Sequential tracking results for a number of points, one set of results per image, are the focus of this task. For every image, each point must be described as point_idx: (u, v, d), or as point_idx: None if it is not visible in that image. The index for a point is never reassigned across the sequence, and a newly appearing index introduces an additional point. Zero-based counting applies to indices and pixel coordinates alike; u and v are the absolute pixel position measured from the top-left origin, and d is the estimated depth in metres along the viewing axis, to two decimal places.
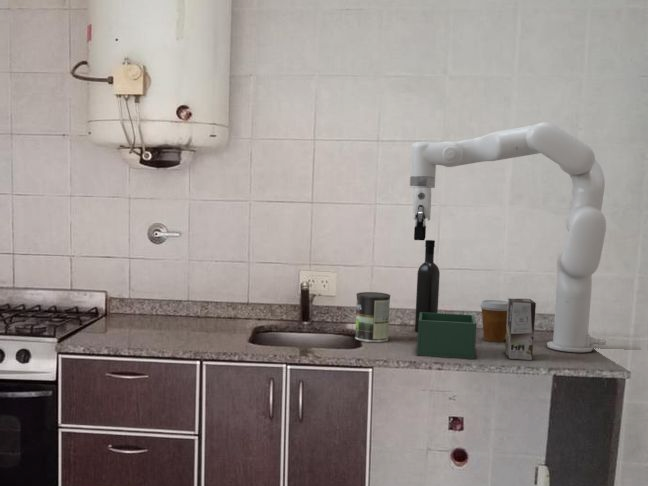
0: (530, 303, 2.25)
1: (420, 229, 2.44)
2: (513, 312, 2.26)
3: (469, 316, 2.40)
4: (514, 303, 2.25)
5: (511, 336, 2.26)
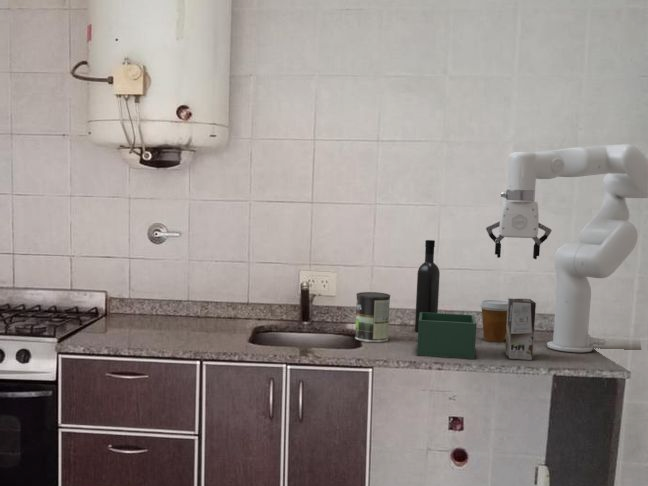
0: (530, 303, 2.25)
1: (495, 245, 2.30)
2: (513, 312, 2.26)
3: (469, 316, 2.40)
4: (514, 303, 2.25)
5: (511, 336, 2.26)
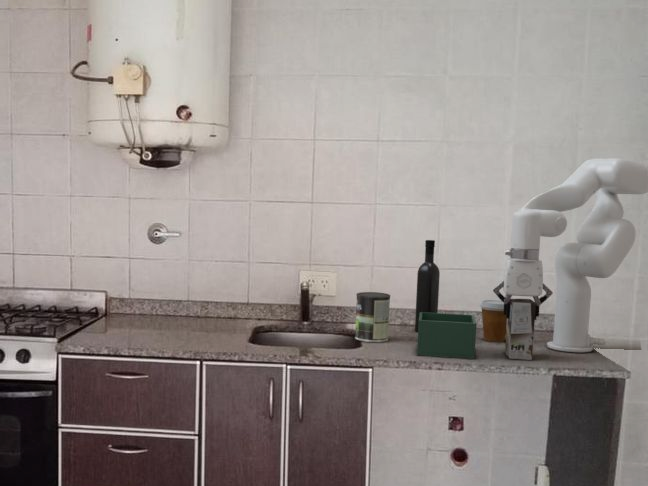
0: (530, 303, 2.25)
1: (504, 306, 2.30)
2: (513, 312, 2.26)
3: (469, 316, 2.40)
4: (514, 303, 2.25)
5: (511, 336, 2.26)
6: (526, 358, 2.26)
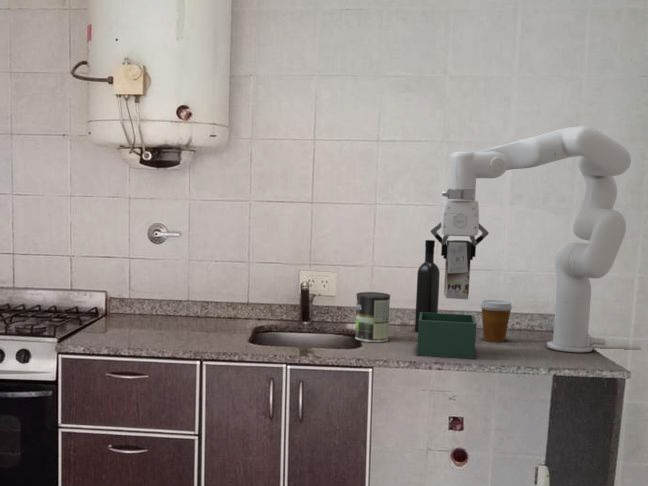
0: (466, 242, 2.27)
1: None
2: (449, 252, 2.28)
3: (469, 316, 2.40)
4: (450, 243, 2.28)
5: (448, 276, 2.29)
6: (462, 297, 2.28)
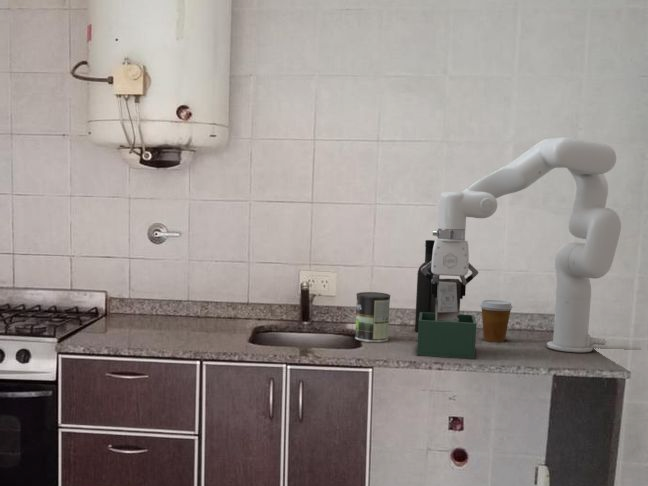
0: (456, 282, 2.29)
1: (432, 285, 2.34)
2: (439, 291, 2.30)
3: (469, 316, 2.40)
4: (440, 282, 2.30)
5: (438, 315, 2.31)
6: None
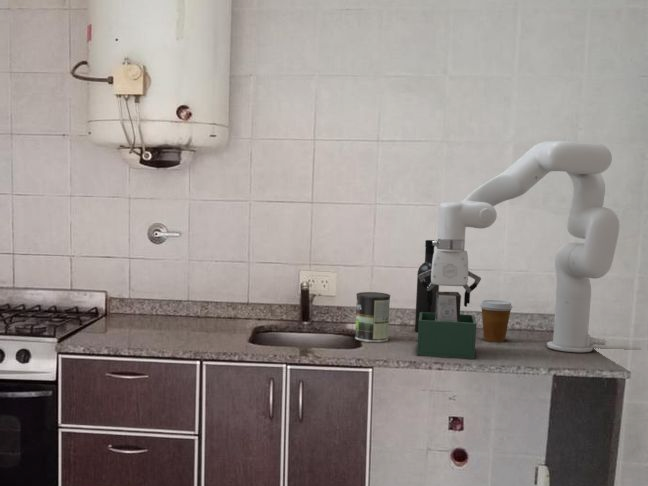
0: (455, 296, 2.29)
1: None
2: (439, 305, 2.30)
3: (469, 316, 2.40)
4: (440, 296, 2.30)
5: None
6: None
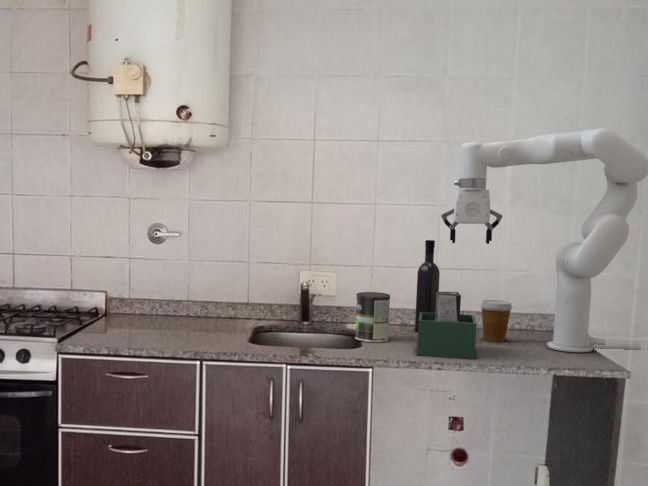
0: (455, 296, 2.29)
1: None
2: (439, 305, 2.30)
3: (469, 316, 2.40)
4: (440, 296, 2.30)
5: None
6: None
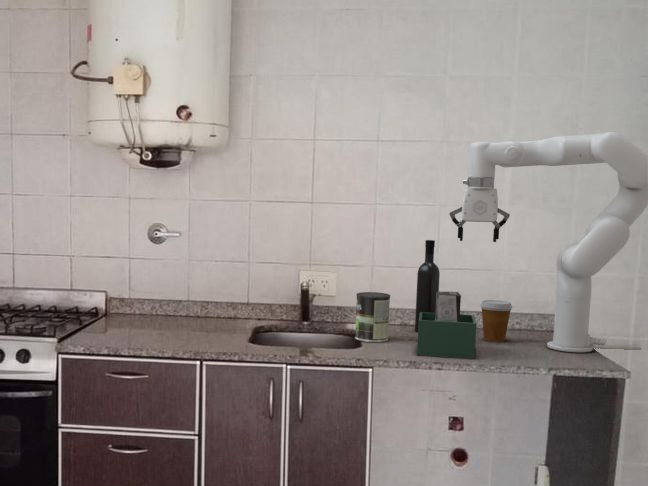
0: (455, 296, 2.29)
1: (458, 229, 2.45)
2: (439, 305, 2.30)
3: (469, 316, 2.40)
4: (440, 296, 2.30)
5: None
6: None
